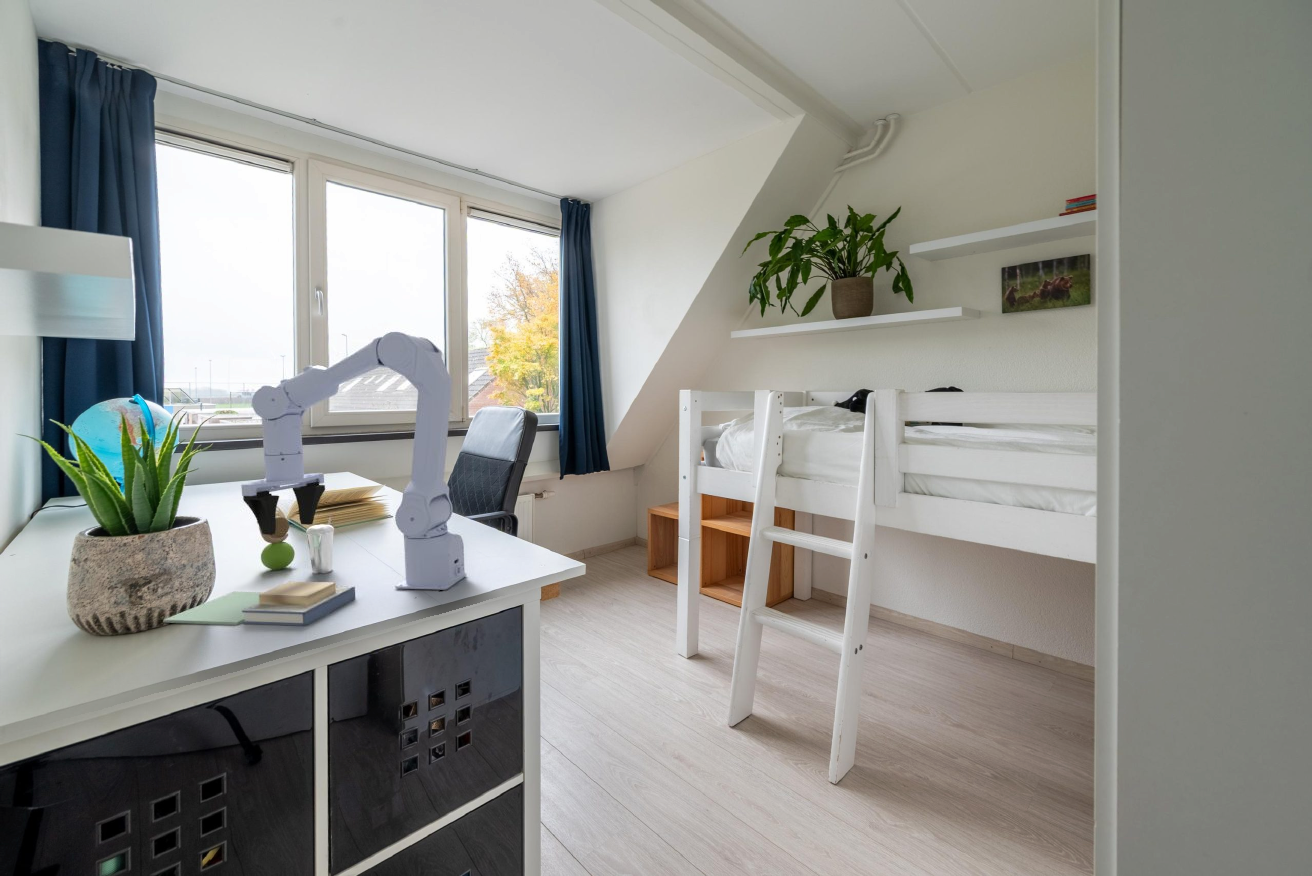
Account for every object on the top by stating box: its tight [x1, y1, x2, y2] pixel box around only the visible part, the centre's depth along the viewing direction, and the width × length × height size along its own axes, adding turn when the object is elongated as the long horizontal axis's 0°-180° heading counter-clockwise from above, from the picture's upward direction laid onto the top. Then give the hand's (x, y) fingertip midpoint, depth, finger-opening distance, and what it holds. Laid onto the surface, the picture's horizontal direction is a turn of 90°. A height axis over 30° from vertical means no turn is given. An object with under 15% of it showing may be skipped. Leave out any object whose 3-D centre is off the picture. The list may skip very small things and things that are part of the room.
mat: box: [163, 591, 265, 626], centre depth 86 cm, size 12×12×1 cm
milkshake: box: [305, 516, 335, 575], centre depth 104 cm, size 4×5×10 cm
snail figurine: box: [256, 515, 296, 571], centre depth 105 cm, size 5×6×12 cm
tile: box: [259, 581, 337, 606], centre depth 84 cm, size 8×6×2 cm
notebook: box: [242, 585, 356, 627], centre depth 85 cm, size 10×11×2 cm
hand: (288, 528), depth 98 cm, fingers open, 7 cm apart
